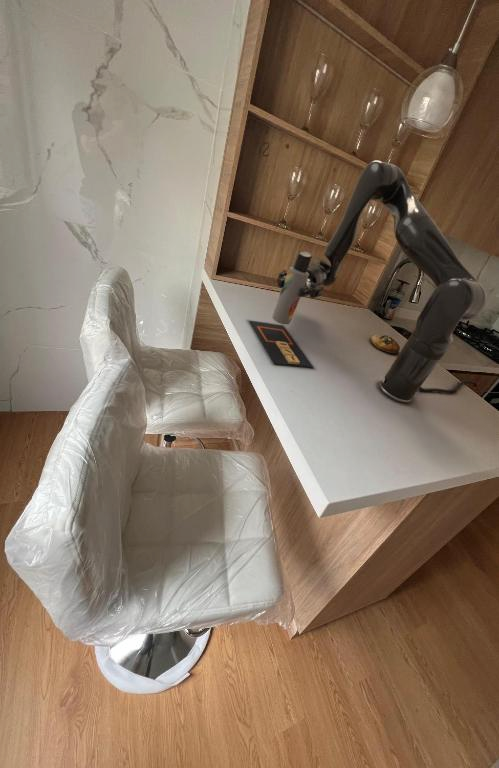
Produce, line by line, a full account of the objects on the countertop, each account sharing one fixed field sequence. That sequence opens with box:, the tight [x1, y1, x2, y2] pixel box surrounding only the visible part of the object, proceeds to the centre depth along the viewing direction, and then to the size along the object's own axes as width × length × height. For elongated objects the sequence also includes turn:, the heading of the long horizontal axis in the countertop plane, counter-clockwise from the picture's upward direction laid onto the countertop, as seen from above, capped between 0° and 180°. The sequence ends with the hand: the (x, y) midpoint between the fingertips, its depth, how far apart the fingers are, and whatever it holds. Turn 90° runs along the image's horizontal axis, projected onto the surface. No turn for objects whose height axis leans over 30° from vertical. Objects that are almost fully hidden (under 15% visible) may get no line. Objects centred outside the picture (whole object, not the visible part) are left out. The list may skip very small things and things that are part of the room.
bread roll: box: [370, 333, 401, 354], centre depth 121 cm, size 11×11×5 cm
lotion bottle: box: [272, 250, 313, 325], centre depth 92 cm, size 6×6×20 cm
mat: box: [249, 320, 314, 369], centre depth 97 cm, size 24×12×1 cm, turn 17°
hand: (290, 288), depth 90 cm, fingers closed on lotion bottle, 5 cm apart
